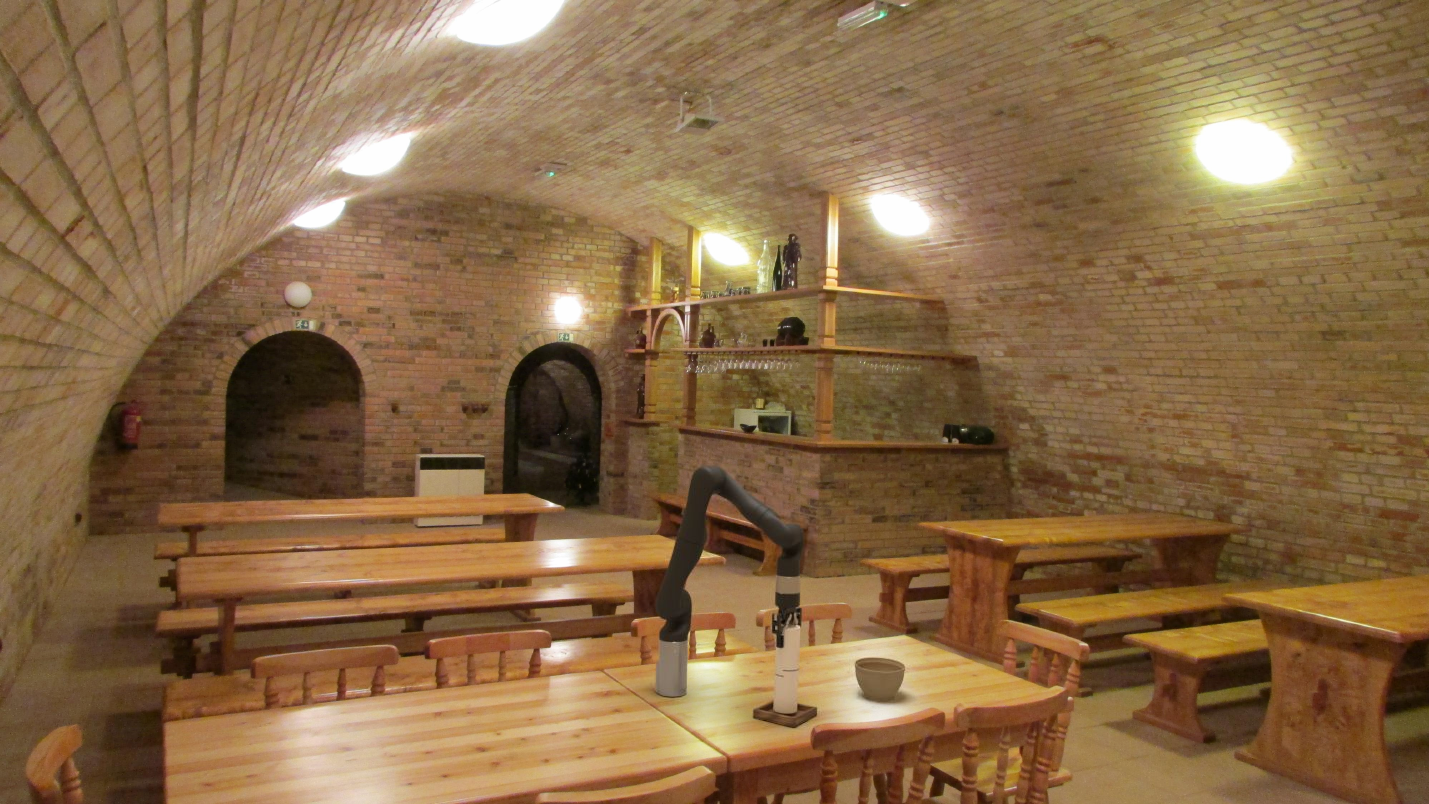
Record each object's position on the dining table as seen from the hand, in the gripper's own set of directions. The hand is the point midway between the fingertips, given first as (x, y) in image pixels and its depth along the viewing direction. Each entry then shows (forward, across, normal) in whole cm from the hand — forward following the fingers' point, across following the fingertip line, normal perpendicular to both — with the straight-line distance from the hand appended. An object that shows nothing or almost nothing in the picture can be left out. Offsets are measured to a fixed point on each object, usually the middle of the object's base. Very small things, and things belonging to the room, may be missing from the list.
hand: (786, 645), depth 290 cm
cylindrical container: (+20, 0, 0) cm, 20 cm away
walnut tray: (+21, 0, 0) cm, 21 cm away
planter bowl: (+21, -36, +14) cm, 44 cm away
